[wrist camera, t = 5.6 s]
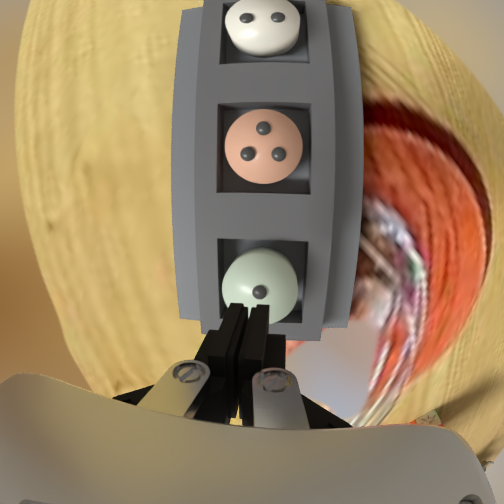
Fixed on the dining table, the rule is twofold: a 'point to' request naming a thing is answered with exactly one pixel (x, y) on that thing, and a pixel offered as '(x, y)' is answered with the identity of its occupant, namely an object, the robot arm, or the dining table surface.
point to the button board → (278, 193)
